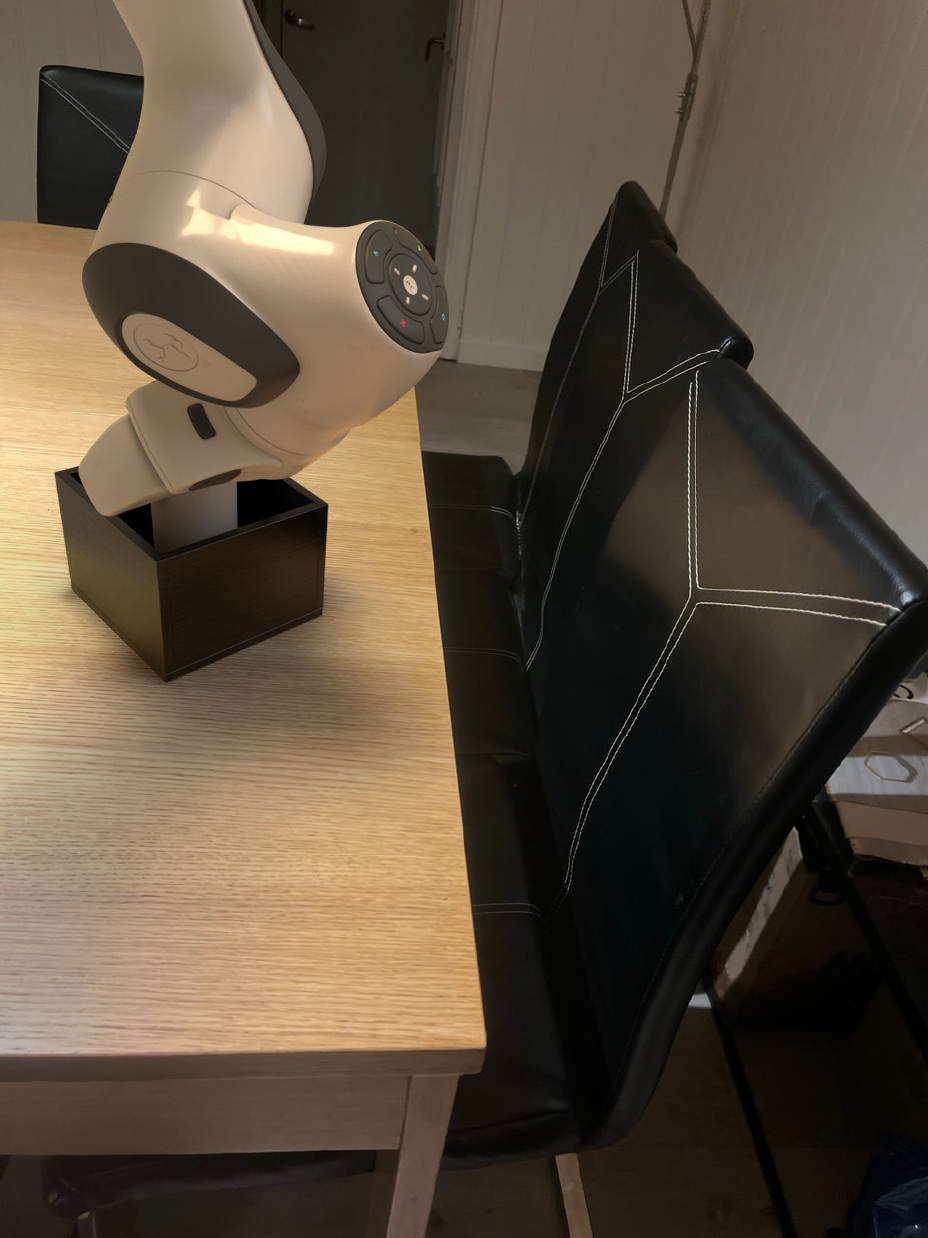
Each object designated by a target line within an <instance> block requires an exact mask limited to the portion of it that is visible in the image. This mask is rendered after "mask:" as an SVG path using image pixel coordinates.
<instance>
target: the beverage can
mask: <svg viewBox="0 0 928 1238" xmlns="http://www.w3.org/2000/svg"><path fill="white" fill-rule="evenodd" d="M151 512H152V525H153V537H154V548H155V549H156V550H157V551H158V552H159V553H161V554H162V553H165V552H168V551H171V550H174V549H177V548H180V547H183V546H186V545H189V544H192V543H195V542H198V541H201V540H204V539H207V538H210V537H213V536H216V535H219V534H222V533H225V532H228V531H231V530H234V529H237V481H236V482H227V483H224V484H219V485H214V486H210V487H206V488H202V489H199V490H195V491H188V492H185V493H181V494H176V495H173V496H170V497H167V498H164V499H161V500H158V501H155V502H152V503H151Z"/></svg>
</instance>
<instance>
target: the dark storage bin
mask: <svg viewBox="0 0 928 1238" xmlns="http://www.w3.org/2000/svg"><path fill="white" fill-rule="evenodd" d="M78 469H79V465H77V466H73V467H68V468H65V469H61V470H58V471H54V479H55V481H54V482H55V487H56V493H57V500H58V507H59V514H60V518H61V519H60V520H61V526H62V533H63V540H64V546H65V554H66V560H67V566H68V572H69V573H68V574H69V580H70V586H71V589H72V590H73V591H74V593H76V594H77V596H79V597H80V598H81V599H82V600H83V602H85V603H86V605H88V606H89V607H90V608H91V610H93V612H94V613H96V615H97V616H99V617H100V618H101V619H102V620H103V622H105V623H106V625H108V626H109V627H110V628H111V629H112V630H113V631H114V632H115V633H116V634H117V635H118V637H120V638H121V639H122V640H123V641H124V642H125V643H126V644H127V645H128V646H129V647H130V648H131V649H132V650H133V651H134V652H135V653H136V654H137V655H138V657H140V658H141V659H142V660H143V661H144V662H145V663H146V664H147V665H148V666H149V667H150V668H151V669H152V670H153V671H154V672H155V673H156V674H157V675H158V676H159V677H160V678H161V680H163V681H164V682H165V683H169V682H172V681H174V680H176V679H178V678H180V677H183V676H186V675H188V674H190V673H193V672H195V671H197V670H200V669H202V668H205V667H207V666H209V665H212V664H213V663H216V662H218V661H220V660H222V659H224V658H227V657H229V656H231V655H234V654H235V653H238V652H240V651H243V650H245V649H248V648H250V647H252V646H255V645H256V644H259V643H262V642H264V641H266V640H269V639H271V638H273V637H276V636H278V635H280V634H283V633H284V632H287V631H289V630H292V629H294V628H296V627H298V626H301V625H303V624H306V623H308V622H310V621H312V620H315V619H317V618H319V617H321V616H323V613H324V597H325V581H326V580H325V579H326V577H325V576H326V558H327V541H328V540H327V539H328V523H329V503H328V502H327V501H325V500H324V499H322V498H320V497H319V496H317V495H316V494H315V493H314V492H312V491H311V490H310V489H308V488H306V487H305V486H303V485H302V484H301V483H299V482H297V481H296V480H295V479H293V478H292V477H288V478H284V479H275V480H270V479H258V480H251V481H237V529H234V530H231V531H228V532H225V533H222V534H219V535H216V536H213V537H210V538H207V539H204V540H201V541H198V542H195V543H192V544H189V545H186V546H183V547H180V548H177V549H174V550H171V551H168V552H165V553H162V554H161V553H159V552H158V551H157V550H156V549H155V548H154V537H153V525H152V512H151V503H149V504H146V505H144V506H140V507H137V508H134V509H131V510H128V511H125V512H123V513H120V514H118V515H114V516H103V515H101V514H100V513H99V512H98V511H97V510H96V508H95V507H94V505H93V503H92V502H91V500H90V498H89V496H88V494H87V492H86V490H85V488H84V486H83V484H82V481H81V479H80V476H79V471H78Z"/></svg>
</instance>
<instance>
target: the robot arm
mask: <svg viewBox="0 0 928 1238" xmlns="http://www.w3.org/2000/svg"><path fill="white" fill-rule="evenodd" d="M112 2H113V5H114V6H115V8H116V10H117V12H118V13H119V15H120V17H121V19H122V21H123V23H124V24H125V27H126V29H127V31H128V33H129V34H130V36H131V38H132V40H133V42H134V43H135V45H136V47H137V49H138V52H139V55H140V57H141V61H142V66H143V95H142V105H141V111H140V116H139V121H138V127H137V131H136V134H135V136H134V139H133V142H132V144H131V147H130V149H129V151H128V154H127V157H126V160H125V162H124V164H123V167H122V170H121V172H120V175H119V177H118V180H117V183H116V184H115V187H114V190H113V192H112V195H111V196H110V198H109V200H108V202H107V205H106V207H105V210H104V212H103V215H102V217H101V219H100V222H99V224H98V227H97V230H96V233H95V236H94V239H93V241H92V243H91V246H90V250H89V252H88V255H87V257H86V260H85V262H84V264H83V266H82V270H81V285H82V288H83V292H84V295H85V298H86V300H87V303H88V306H89V308H90V310H91V312H92V314H93V315H94V317H95V319H96V321H97V322H98V324H99V326H100V327H101V329H102V330H103V332H104V333H105V334H106V335H107V337H108V338H109V339H110V341H111V342H112V343H113V344H114V345H115V346H116V348H118V350H119V351H120V352H121V354H122V355H124V356H125V357H126V358H127V359H128V360H129V361H130V362H131V363H132V364H133V365H134V367H135V366H136V368H138V369H139V370H140V371H142V372H143V373H145V374H146V375H148V376H149V377H151V378H152V379H155V380H154V381H151V382H149V383H147V384H144V385H142V386H140V387H138V388H136V389H135V390H133V391H132V392H131V393H130V394H129V395H128V396H127V397H126V399H125V400H124V403H125V407H126V410H127V413H126V414H124V415H123V416H121V417H120V418H118V419H117V420H115V421H114V422H112V423H111V425H109V426H108V427H107V428H106V429H105V430H104V431H103V432H101V434H100V435H99V436H98V438H97V439H96V440H95V441H94V443H93V444H92V445H91V446H90V448H89V449H88V451H87V452H86V453H85V454H84V456H83V458H82V459H81V461H80V463H79V465H78V466H79V469H78V471H79V476H80V479H81V481H82V484H83V486H84V488H85V490H86V492H87V494H88V496H89V498H90V500H91V502H92V503H93V505H94V507H95V508H96V510H97V511H98V512H99V513H100V514H101V515H103V516H114V515H118V514H120V513H123V512H125V511H128V510H131V509H134V508H137V507H140V506H144V505H146V504H149V503H152V502H155V501H158V500H161V499H164V498H167V497H170V496H173V495H176V494H181V493H185V492H188V491H195V490H199V489H202V488H206V487H210V486H214V485H219V484H224V483H227V482H236V481H251V480H258V479H270V480H275V479H284V478H288V477H290V478H292V477H293V476H295V475H297V474H299V473H301V472H302V471H303V470H305V469H307V468H308V467H309V466H310V465H312V464H314V462H316V461H317V460H318V459H320V458H322V457H323V456H324V455H325V454H327V453H328V452H330V451H331V450H333V449H334V448H336V447H337V446H339V444H340V443H342V441H343V440H345V439H346V437H347V436H348V435H349V433H350V432H351V430H353V429H355V428H358V427H361V426H364V425H366V424H368V423H370V422H371V421H372V420H374V419H376V418H377V417H379V416H380V415H381V414H383V413H384V412H385V411H386V410H388V409H389V408H391V407H392V406H394V404H396V403H397V402H399V400H400V399H401V398H403V397H404V396H405V395H406V394H407V393H409V392H410V391H411V390H412V389H413V388H414V387H415V386H416V385H417V384H418V383H419V382H420V381H421V380H422V379H423V378H424V377H425V375H426V374H427V373H429V371H430V370H431V369H432V367H433V366H434V365H435V363H436V362H437V360H438V359H439V357H440V356H441V354H442V352H443V350H444V348H445V346H446V342H447V338H448V332H449V331H448V330H449V322H450V321H449V319H450V312H449V298H448V294H447V290H446V286H445V283H444V279H443V278H442V275H441V273H440V270H439V268H438V266H437V265H436V262H435V261H434V258H433V257H432V256H431V254H430V253H429V251H428V250H427V248H426V247H425V246H424V244H422V242H421V241H420V240H419V239H418V238H417V237H416V236H415V235H414V234H413V233H412V232H410V231H409V230H408V229H406V228H405V227H403V226H401V225H399V224H397V223H395V222H393V221H389V220H384V219H375V220H370V221H365V222H363V223H359V224H355V225H351V226H343V227H341V226H340V227H335V226H334V227H333V226H319V225H309V224H305V220H306V217H307V216H308V214H309V211H310V210H311V206H312V204H313V201H314V199H315V196H316V194H317V191H318V189H319V187H320V184H321V182H322V179H323V177H324V173H325V170H326V165H327V141H326V136H325V132H324V129H323V125H322V122H321V120H320V117H319V116H318V114H317V113H318V112H317V111H316V109H315V107H314V105H313V104H312V101H311V100H310V98H309V96H308V95H307V94H306V92H305V90H304V89H303V88H302V86H301V84H300V82H299V81H298V80H297V78H296V77H295V76H294V74H293V73H292V72H291V70H290V68H289V67H288V66H287V64H286V63H285V62H284V60H283V59H282V57H281V55H280V54H279V51H278V50H277V49H276V47H275V46H274V44H273V42H272V41H271V38H269V35H268V34H267V31H266V29H265V28H264V25H263V23H262V21H261V19H260V17H259V13H258V12H257V10H256V9H257V8H256V6H255V4H254V2H253V0H112Z"/></svg>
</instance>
